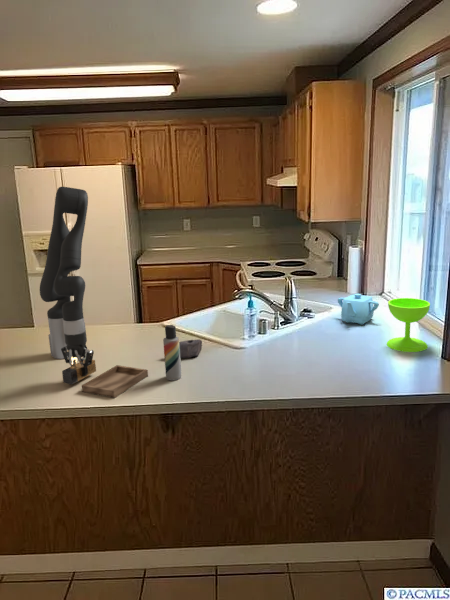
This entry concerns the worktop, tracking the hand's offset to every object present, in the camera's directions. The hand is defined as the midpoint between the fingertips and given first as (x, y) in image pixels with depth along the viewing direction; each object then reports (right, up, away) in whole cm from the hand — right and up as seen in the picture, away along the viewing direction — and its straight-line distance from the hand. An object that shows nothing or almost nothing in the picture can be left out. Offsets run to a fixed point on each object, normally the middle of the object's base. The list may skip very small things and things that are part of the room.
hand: (79, 374), depth 188 cm
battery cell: (0, -1, 0) cm, 1 cm away
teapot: (+116, +17, +55) cm, 130 cm away
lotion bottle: (+35, -1, -1) cm, 35 cm away
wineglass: (+128, +9, +22) cm, 130 cm away
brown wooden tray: (+14, -3, -4) cm, 15 cm away
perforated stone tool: (+37, +4, +20) cm, 42 cm away
